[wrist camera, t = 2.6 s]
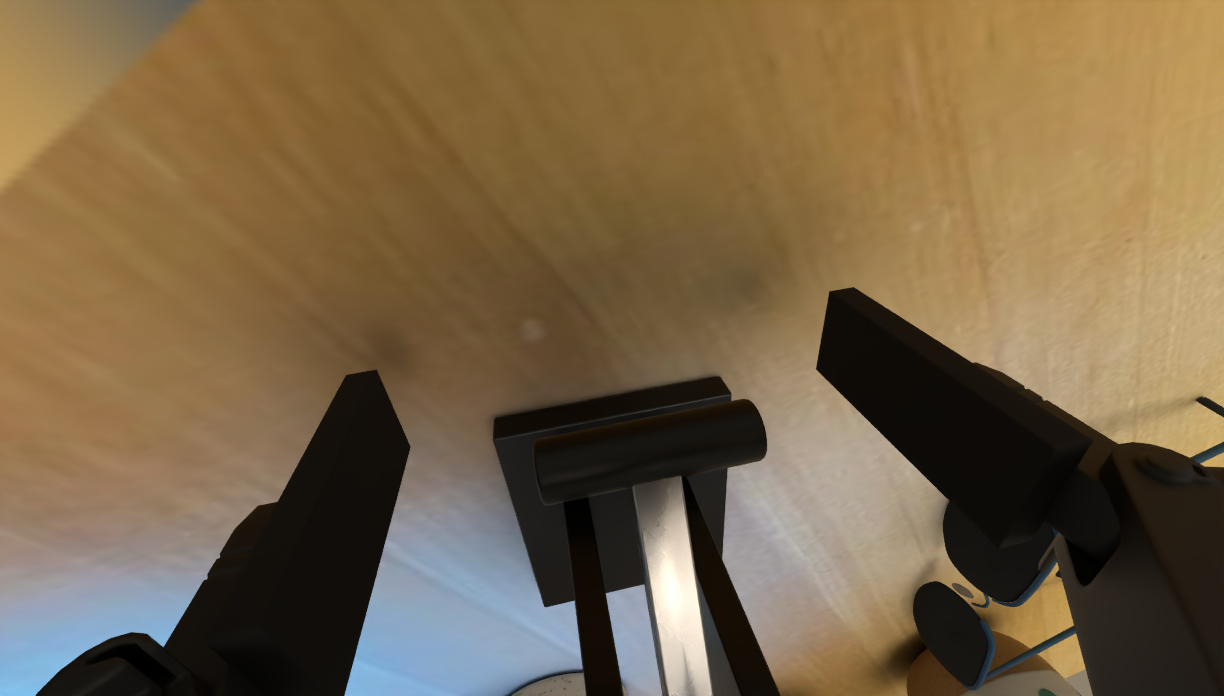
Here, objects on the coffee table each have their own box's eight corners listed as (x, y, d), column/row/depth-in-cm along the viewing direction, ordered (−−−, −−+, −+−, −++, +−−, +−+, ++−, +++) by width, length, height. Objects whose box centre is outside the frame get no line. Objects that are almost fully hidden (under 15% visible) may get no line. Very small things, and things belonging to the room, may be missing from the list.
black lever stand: (493, 418, 18) (463, 976, 7) (720, 375, 18) (1011, 803, 8) (542, 585, 23) (569, 1028, 13) (713, 545, 24) (874, 926, 14)
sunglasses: (961, 459, 24) (1068, 536, 20) (1162, 374, 27) (1292, 427, 23) (901, 627, 34) (967, 703, 29) (1056, 551, 36) (1136, 611, 32)
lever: (534, 426, 11) (529, 460, 9) (730, 388, 12) (774, 410, 9) (613, 849, 13) (627, 974, 10) (784, 799, 13) (835, 907, 11)
